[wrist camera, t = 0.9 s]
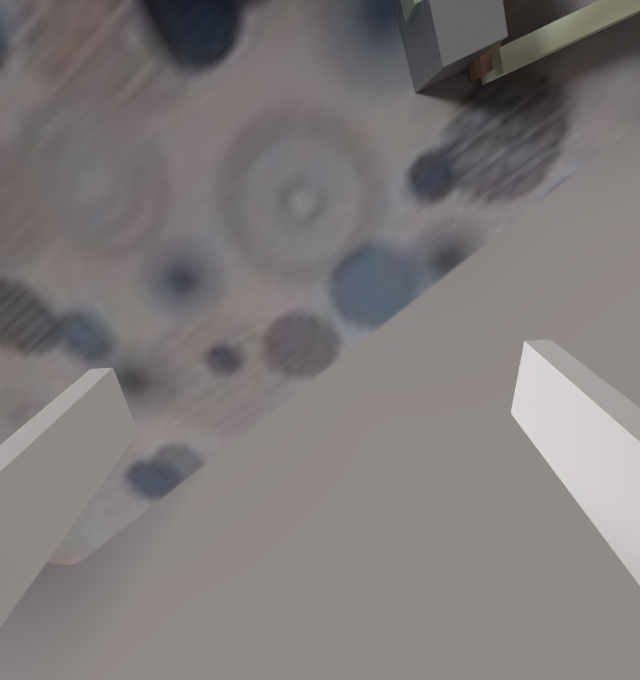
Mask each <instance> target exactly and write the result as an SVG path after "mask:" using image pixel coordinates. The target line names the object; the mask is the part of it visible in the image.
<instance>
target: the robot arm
mask: <svg viewBox="0 0 640 680" xmlns="http://www.w3.org/2000/svg"><path fill="white" fill-rule="evenodd" d="M511 414H512V415H513V417H514V418H515V419H516V421H517V422H518V423H519V425H520V426H521V427H522V429H523V430H524V431H525V433H526V434H527V435H528V437H529V438H530V439H531V441H532V442H533V444H534V445H535V446H536V447H537V449H538V450H539V451H540V453H541V454H542V456H543V457H544V458H545V459H546V461H547V462H548V463H549V465H550V466H551V467H552V469H553V470H554V472H555V473H556V474H557V475H558V477H559V478H560V480H561V481H562V482H563V483H564V485H565V486H566V488H567V489H568V490H569V492H570V493H571V494H572V496H573V497H574V498H575V499H576V501H577V502H578V504H579V505H580V506H581V507H582V509H583V510H584V512H585V513H586V514H587V515H588V517H589V518H590V520H591V521H592V522H593V524H594V525H595V526H596V528H597V529H598V530H599V532H600V533H601V534H602V535H603V537H604V538H605V540H606V541H607V542H608V544H609V545H610V546H611V548H612V549H613V550H614V552H615V553H616V554H617V556H618V557H619V558H620V560H621V561H622V562H623V564H624V565H625V566H626V568H627V569H628V570H629V572H630V573H631V574H632V576H633V577H634V578H635V580H636V581H637V582H638V584H639V585H640V408H639V407H637V406H636V405H635V404H634V403H632V402H631V401H630V400H629V399H627V398H626V397H625V396H623V395H622V394H621V393H619V392H618V391H617V390H616V389H614V388H613V387H612V386H610V385H609V384H607V383H606V382H605V381H604V380H603V379H601V378H600V377H599V376H597V375H596V374H595V373H593V372H592V371H591V370H589V369H588V368H587V367H586V366H584V365H583V364H582V363H580V362H579V361H578V360H576V359H575V358H574V357H573V356H571V355H570V354H568V353H567V352H566V351H565V350H563V349H562V348H561V347H560V346H558V345H557V344H556V343H554V342H553V341H552V340H550V339H548V340H532V341H524V346H523V352H522V357H521V362H520V368H519V373H518V378H517V384H516V389H515V394H514V399H513V406H512V411H511ZM138 434H139V433H138V431H137V428H136V426H135V423H134V421H133V418H132V416H131V413H130V411H129V408H128V405H127V403H126V400H125V398H124V395H123V393H122V390H121V388H120V385H119V383H118V380H117V377H116V375H115V372H114V370H113V368H101V369H90V370H89V371H88V372H86V373H85V374H84V375H83V376H82V377H80V378H79V379H78V380H77V381H76V382H75V383H73V384H72V385H71V386H70V387H69V388H67V389H66V390H65V391H64V392H63V393H61V394H60V395H59V396H58V397H57V398H56V399H54V400H53V401H52V402H51V403H50V404H48V405H47V406H46V407H45V408H44V409H43V410H41V411H40V412H39V413H38V414H37V415H35V416H34V417H33V418H32V419H31V420H30V421H28V422H27V423H26V424H25V425H24V426H22V427H21V428H20V429H19V430H18V431H16V432H15V433H14V434H13V435H12V436H11V437H9V438H8V439H7V440H6V441H5V442H3V443H2V444H1V445H0V627H1V626H2V624H3V623H4V621H5V620H6V619H7V617H8V616H9V614H10V613H11V612H12V610H13V609H14V607H15V606H16V605H17V603H18V602H19V600H20V599H21V598H22V596H23V595H24V593H25V592H26V591H27V589H28V588H29V586H30V585H31V583H32V582H33V581H34V579H35V578H36V577H37V575H38V574H39V572H40V571H41V569H42V568H43V567H44V565H45V564H46V563H47V561H48V560H49V558H50V557H51V556H52V554H53V553H54V551H55V550H56V549H57V547H58V546H59V544H60V543H61V542H62V540H63V539H64V537H65V536H66V535H67V533H68V532H69V530H70V529H71V528H72V526H73V525H74V523H75V522H76V520H77V519H78V518H79V516H80V515H81V513H82V512H83V511H84V509H85V508H86V506H87V505H88V504H89V502H90V501H91V499H92V498H93V497H94V495H95V494H96V492H97V491H98V490H99V488H100V487H101V485H102V484H103V483H104V481H105V480H106V478H107V477H108V476H109V474H110V473H111V471H112V470H113V469H114V467H115V466H116V464H117V463H118V462H119V460H120V459H121V457H122V456H123V455H124V453H125V452H126V450H127V449H128V448H129V446H130V445H131V443H132V442H133V441H134V439H135V438H136V436H137V435H138Z"/></svg>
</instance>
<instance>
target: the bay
mask: <svg viewBox="0 0 640 680" xmlns="http://www.w3.org/2000/svg"><path fill="white" fill-rule="evenodd" d="M638 13H640V0H598V1H596V2H594V3H592V4H590V5H588V6H586V7H584V8H581V9H579V10H577V11H575V12H573V13H571V14H569V15H567V16H565V17H563V18H560V19H558V20H556V21H554V22H552V23H550V24H548V25H546V26H544V27H542V28H540V29H537V30H535V31H533V32H531V33H529V34H527V35H525V36H523V37H521V38H519V39H516V40H514V41H512V42H510V43H508V44H506V45H504V46H502V47H501V42H500V43H498V44H497V45H496V46H494V47H493V48H492V49H491V50H489V51H488V52H487V53H485V54H484V55H483V56H481V57H480V58H479V59H478V60H476V61H475V62H474V63H472V64H471V65H470V66H468V70H469V75H470V80H471V82H472V81H474V80H476V79H478V78H480V77H481V82H482V85H484V84H486V83H489V82H491V81H493V80H495V79H497V78H499V77H502V76H504V75H506V74H508V73H510V72H512V71H515V70H517V69H519V68H521V67H523V66H525V65H528V64H530V63H532V62H534V61H536V60H538V59H541V58H543V57H545V56H547V55H549V54H551V53H554V52H556V51H558V50H560V49H562V48H564V47H567V46H569V45H571V44H573V43H575V42H577V41H580V40H582V39H584V38H586V37H588V36H590V35H593V34H595V33H597V32H599V31H601V30H603V29H606V28H608V27H610V26H612V25H614V24H616V23H619V22H621V21H623V20H625V19H627V18H629V17H631V16H634V15H636V14H638Z"/></svg>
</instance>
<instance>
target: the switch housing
mask: <svg viewBox="0 0 640 680" xmlns="http://www.w3.org/2000/svg"><path fill="white" fill-rule="evenodd" d="M393 4H394V8H395V12H396V16H397V20H398V24H399V28H400V32H401V36H402V40H403V44H404V48H405V52H406V56H407V60H408V65H409V69H410V73H411V77H412V81H413V85H414V89H415V93H417V92H419V91H421V90H423V89H425V88H427V87H429V86H431V85H434V84H436V83H438V82H440V81H442V80H444V79H446V78H448V77H450V76H453V75H455V74H457V73H459V72H461V71H463V70H464V69H466V68H467V67H468V66H470V65H471V64H472V63H474V62H475V61H476V60H478V59H479V58H480V57H481V56H483V55H484V54H485V53H487V52H488V51H489V50H491V49H492V48H493V47H494V46H496V45H497V44H498V43H500V42H501V41H502V40H504V39H505V38H506V37H508V33H507V26H506V19H505V12H504V5H503V0H393Z"/></svg>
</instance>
